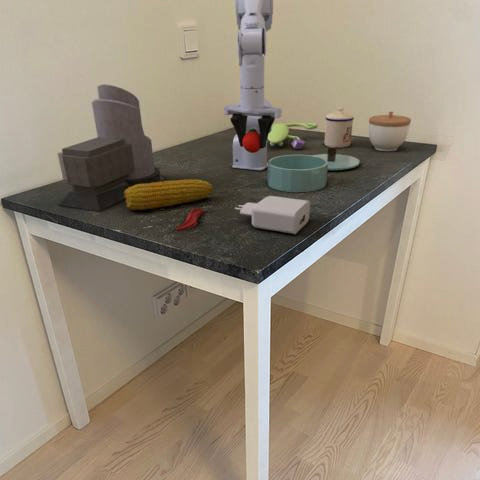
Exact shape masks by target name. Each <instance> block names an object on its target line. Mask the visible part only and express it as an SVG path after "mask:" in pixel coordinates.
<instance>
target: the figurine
mask: <svg viewBox="0 0 480 480" xmlns="http://www.w3.org/2000/svg"><path fill="white" fill-rule="evenodd" d="M318 126H319V125H318V124H317V123H313V122H308V123H307V124H306V123H305V122H288V123H284V122H281V123H277V122H275V123H273V124H272V131H271V132H270V133H269V134H268V138H267V144H268V143H269V144H270V146H271V147H274V146H275V145H277V146H278V147H283V145H284V142H283V141H284V140H285V139H288V140H293V141H292V142H291V145H292V147H293V149H297V150H302V149H303V147H304V145H305V144H306V140H304V139H303V138H300V137H299V136H296V135H290V134H289V131H290V129H289V128H290V127H303V128H304V129H306V130H314V129H317V128H318Z"/></svg>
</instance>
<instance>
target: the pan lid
mask: <svg viewBox="0 0 480 480" xmlns="http://www.w3.org/2000/svg"><path fill="white" fill-rule="evenodd" d="M337 149H338V148H337V146H327V153H321V154H319V153H318V154H313V155H312V156H317V157H321V158H324V159H326V160H327V161H328V170H327V171H334V172H335V171H345V170H349V169H354V168H356V167H358V166H359V165H360V163H361V162H360V160H359V158H357V157H354V156H351V155H346V154H340V153H339V154H338V153H337Z"/></svg>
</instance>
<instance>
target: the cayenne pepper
mask: <svg viewBox="0 0 480 480" xmlns="http://www.w3.org/2000/svg"><path fill="white" fill-rule="evenodd" d="M204 212H205V210H203V209H201V208H196V207H195V208H192V209H191V211H190V212H189V213H188V214H187V215H186V219H185V222H183V223H182V224H180V225H178V226H177V227H176V228H175V229H174V230H175V231H181V230H187V229H190V228H193V227H196V226H197V225H198V219H199V217H200V216H201V215H202V214H203V213H204Z"/></svg>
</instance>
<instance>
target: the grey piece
mask: <svg viewBox="0 0 480 480" xmlns="http://www.w3.org/2000/svg"><path fill="white" fill-rule="evenodd" d="M96 89H97V95H98V98H95V99H93V100H92V102H91V107H92V112H93V118H94V124H95V130H96V131H95V132H96V137H94V138H91V139H88V140H86V141H82V142H78V143H76V144H73V145H69V146H67V147H66V146H65V147H64V148H61V151H60V152H57V157H58V162H59V166H60V171H61V176H62V180H64V181H67V185H70V186H72V187H71V189H72V190H70V191H68V193H67V195H66V196H65V197H64V198H63V200H62V201H61V202H60V204H59V205H60V206H64V207H68V208H70V207H71V208H76V209H83V210H90V211H95V212H101V211H103V210H105V209H107V208H109V207H111V206H113V205H115V204H117V203H119V202H120V201H123V200H126V198H125V197H124V196H125V195H124V191H125V190H126V189H128V188H129V187H131V186H134V185H137V184H147V183H148V184H150V183H154V182H161V181H162V182H163V181H166V178H165V177H163V176H161V172H160V169H159V168H158V167H156V166H155V161H154V153H153V144H152V139H151V138H150V136H147V135H145V131H144V128H143V123H142V114H141V105H140V100H139V98H138V97H137V96H136V95H135V94H133V93H132V92H130V91H129V90H127V89H124V88H122V87H119V86H116V85H113V84H104V83H103V84H100V85H98V86H97V87H96Z"/></svg>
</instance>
